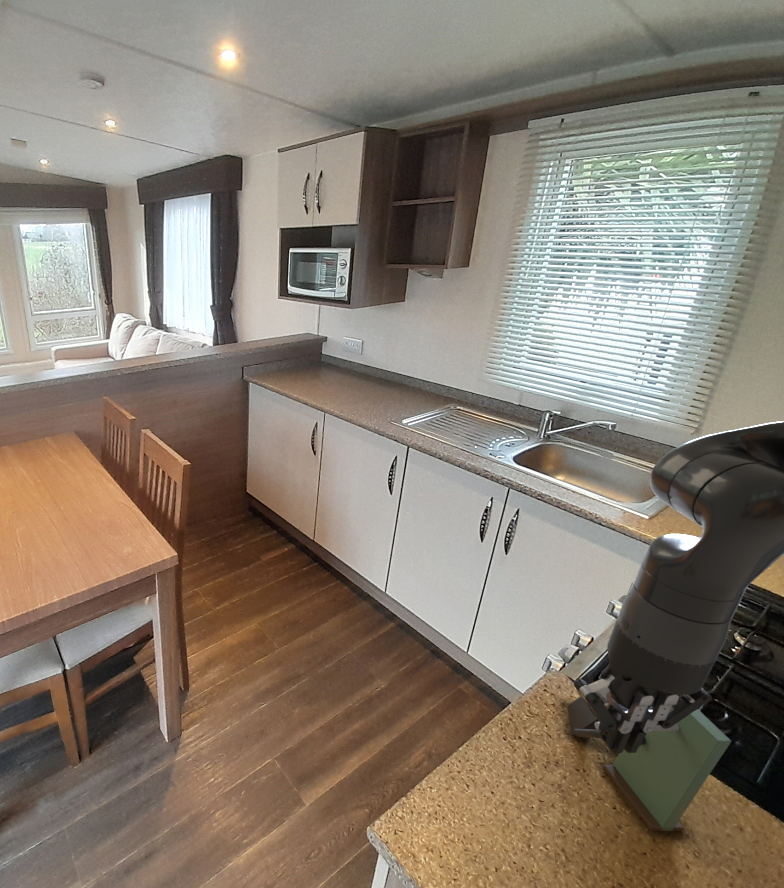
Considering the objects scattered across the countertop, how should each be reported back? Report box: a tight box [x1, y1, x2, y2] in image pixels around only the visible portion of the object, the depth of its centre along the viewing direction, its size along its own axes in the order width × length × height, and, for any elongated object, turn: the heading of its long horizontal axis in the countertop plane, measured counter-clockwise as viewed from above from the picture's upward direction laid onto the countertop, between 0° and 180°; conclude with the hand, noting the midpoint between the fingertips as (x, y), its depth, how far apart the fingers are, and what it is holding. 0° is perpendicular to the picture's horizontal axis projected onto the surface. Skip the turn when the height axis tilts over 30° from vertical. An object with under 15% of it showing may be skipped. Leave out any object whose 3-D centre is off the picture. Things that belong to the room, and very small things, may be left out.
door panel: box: [595, 707, 732, 832], centre depth 61 cm, size 8×12×18 cm, turn 89°
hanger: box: [574, 699, 607, 739], centre depth 60 cm, size 9×1×5 cm
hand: (617, 745), depth 55 cm, fingers closed on hanger, 1 cm apart
